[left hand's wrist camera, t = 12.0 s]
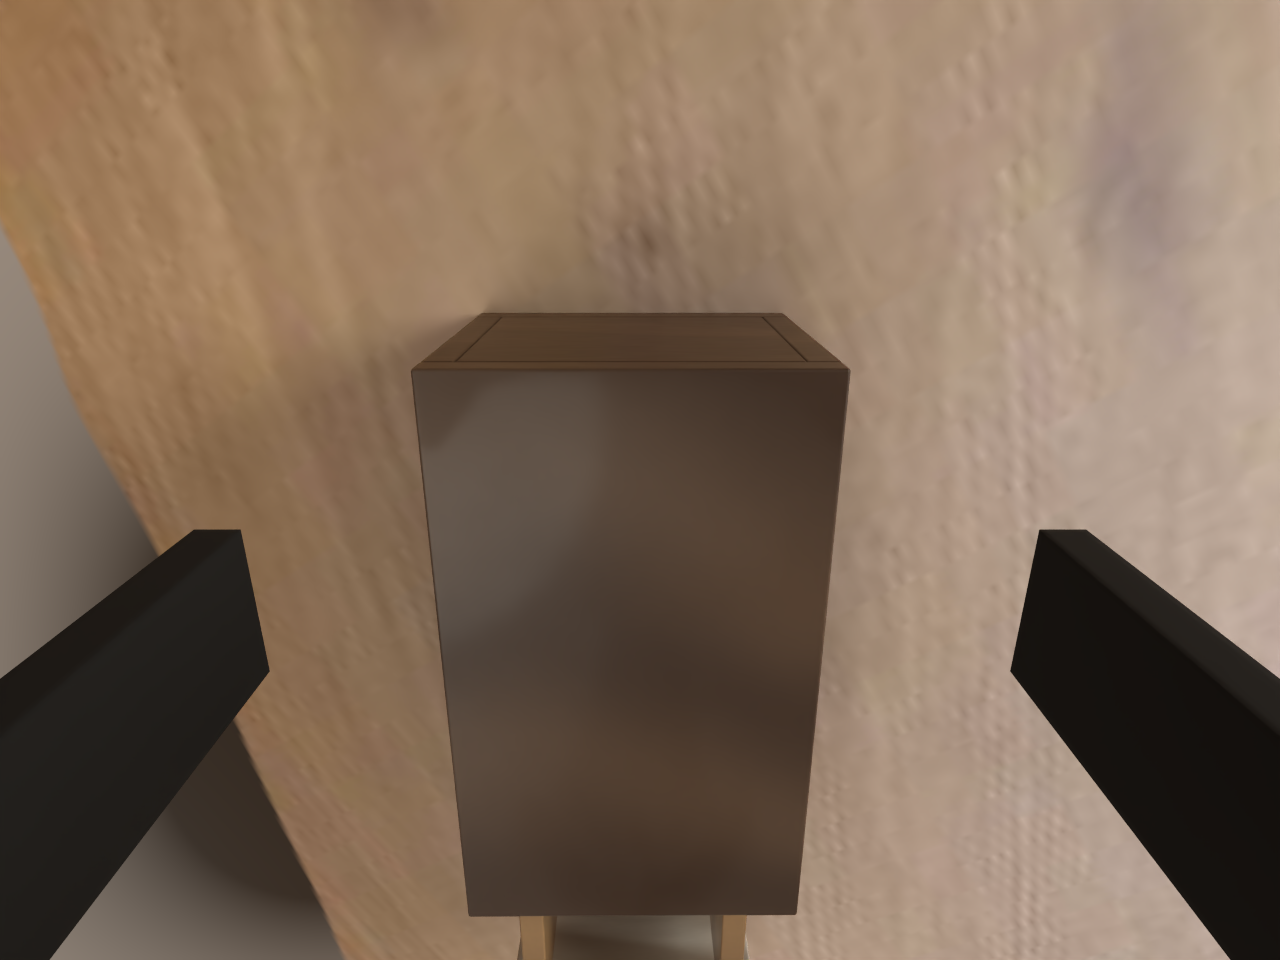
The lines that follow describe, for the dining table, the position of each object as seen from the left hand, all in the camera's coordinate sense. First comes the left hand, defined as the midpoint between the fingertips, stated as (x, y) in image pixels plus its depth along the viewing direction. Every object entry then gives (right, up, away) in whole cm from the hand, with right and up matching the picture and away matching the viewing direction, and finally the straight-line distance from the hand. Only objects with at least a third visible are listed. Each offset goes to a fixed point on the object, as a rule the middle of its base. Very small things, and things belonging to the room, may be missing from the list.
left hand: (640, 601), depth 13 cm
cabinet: (0, 0, +16) cm, 16 cm away
